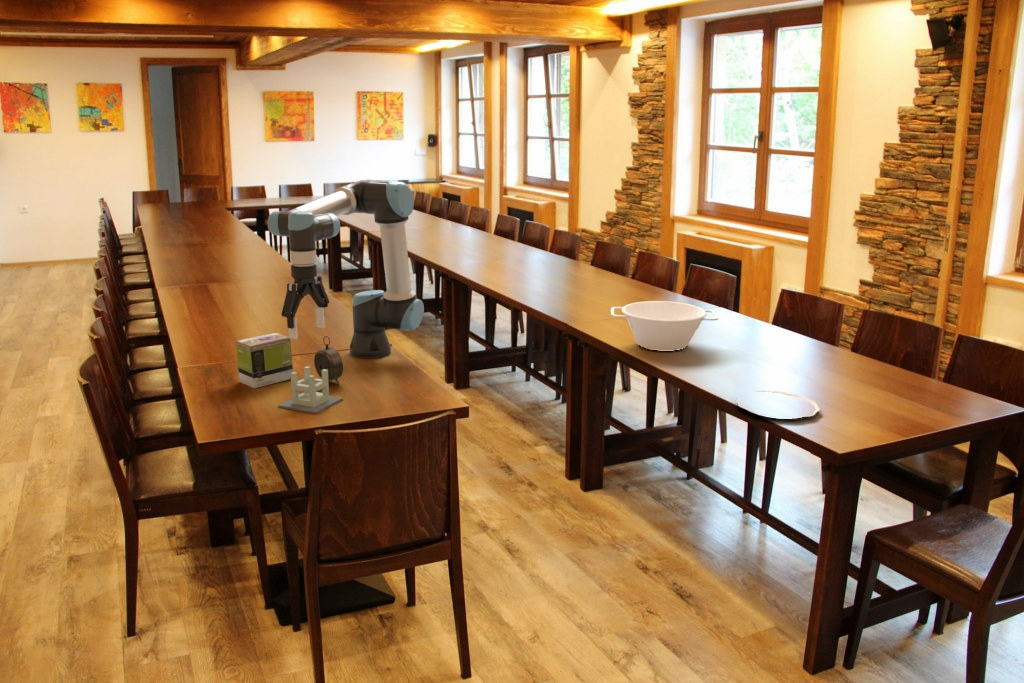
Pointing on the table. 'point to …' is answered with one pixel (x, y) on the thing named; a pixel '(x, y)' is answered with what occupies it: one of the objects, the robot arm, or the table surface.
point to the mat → (313, 410)
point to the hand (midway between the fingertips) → (307, 333)
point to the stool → (310, 388)
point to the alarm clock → (329, 362)
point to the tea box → (264, 359)
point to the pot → (663, 323)
